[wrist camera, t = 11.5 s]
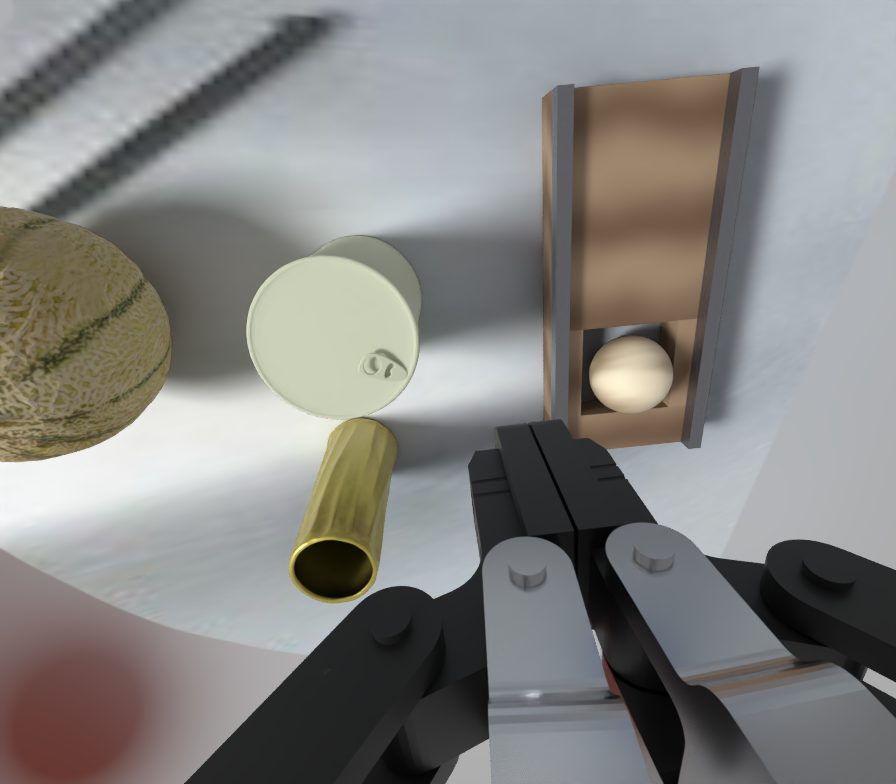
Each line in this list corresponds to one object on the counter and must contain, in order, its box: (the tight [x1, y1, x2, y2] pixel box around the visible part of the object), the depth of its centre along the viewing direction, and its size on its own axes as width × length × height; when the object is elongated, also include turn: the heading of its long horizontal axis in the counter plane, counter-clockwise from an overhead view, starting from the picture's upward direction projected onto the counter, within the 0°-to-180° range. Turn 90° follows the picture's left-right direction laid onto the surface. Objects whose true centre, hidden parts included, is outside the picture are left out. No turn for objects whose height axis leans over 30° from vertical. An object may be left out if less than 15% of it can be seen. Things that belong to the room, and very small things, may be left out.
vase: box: [289, 418, 398, 603], centre depth 33 cm, size 6×6×14 cm
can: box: [246, 236, 422, 419], centre depth 29 cm, size 9×9×12 cm
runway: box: [542, 67, 759, 449], centre depth 34 cm, size 26×12×4 cm, turn 5°
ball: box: [589, 335, 673, 414], centre depth 35 cm, size 6×6×6 cm
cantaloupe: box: [0, 207, 172, 462], centre depth 27 cm, size 15×15×15 cm
